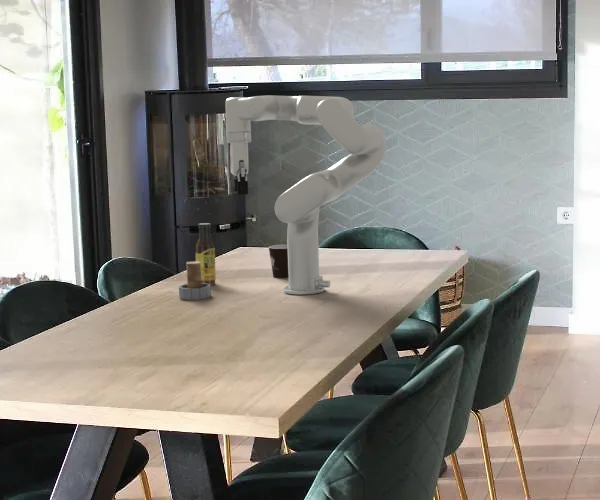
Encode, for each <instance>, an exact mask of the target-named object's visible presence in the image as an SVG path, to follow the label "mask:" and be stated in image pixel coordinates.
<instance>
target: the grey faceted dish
mask: <svg viewBox="0 0 600 500" xmlns="http://www.w3.org/2000/svg"><path fill="white" fill-rule="evenodd" d="M201 286H202V288H188V286H187V283H183V284H180V285H178V298H179V299H180V300H184V299H185V301H188V300H189V301H197V300H199V299H200V300H205V299H209V298H210V297H211V296H212V290H211V289H212V287H211V286H212V285H210V284H207V283H201Z"/></svg>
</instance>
